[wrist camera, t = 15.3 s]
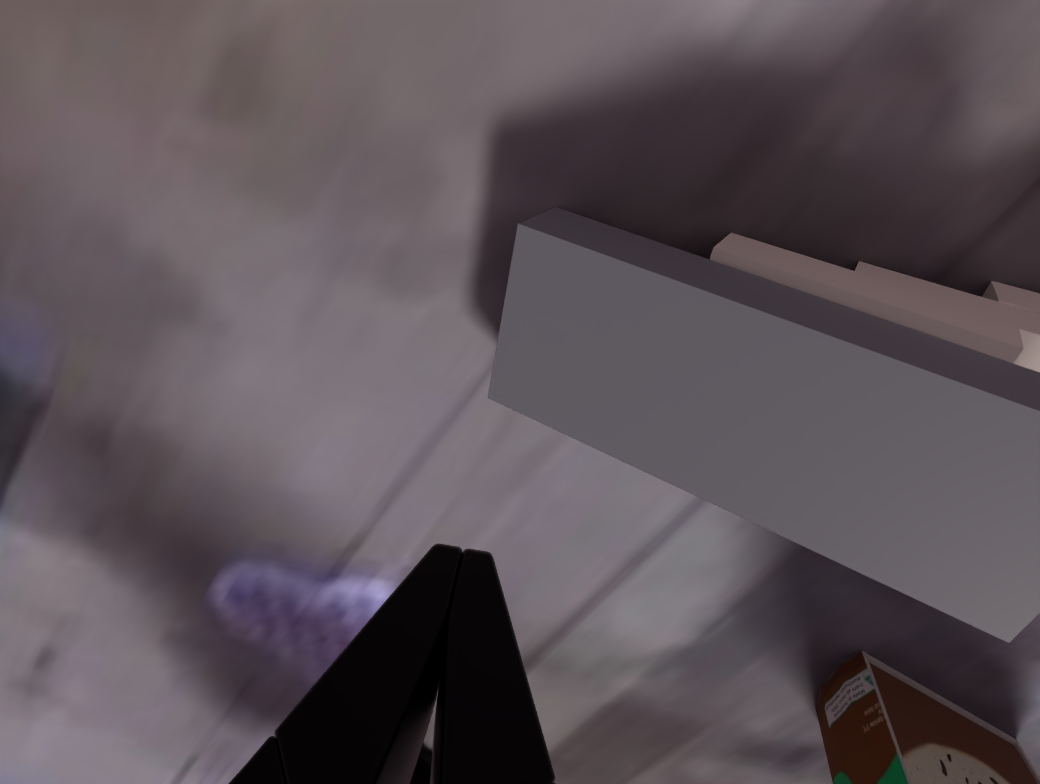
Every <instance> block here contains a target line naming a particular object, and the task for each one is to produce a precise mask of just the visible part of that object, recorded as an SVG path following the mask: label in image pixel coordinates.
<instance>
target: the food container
mask: <svg viewBox="0 0 1040 784" xmlns="http://www.w3.org/2000/svg"><path fill="white" fill-rule="evenodd" d="M816 711H817V716H818V720H819V724H820V729H821V733H822V738H823V742H824V746H825V751H826V755H827V759H828V764H829V768H830V772H831V777H832V781H833V784H1040V777H1039V776H1038V774H1037V772H1036V771H1035V769H1034V767H1033V766H1032V764H1031V763H1030V761H1029V759H1028V758H1027V756H1026V754H1025V753H1024V751H1023V750H1022V748H1021V746H1020V745H1019V743H1018V742H1017V740H1016V739H1015V738H1013V737H1011V736H1009V735H1008V734H1006V733H1004V732H1002V731H1001V730H999V729H997V728H995V727H994V726H992V725H990V724H989V723H987V722H985V721H983V720H982V719H980V718H978V717H976V716H975V715H973V714H971V713H969V712H968V711H966V710H964V709H962V708H961V707H959V706H957V705H955V704H954V703H952V702H950V701H948V700H947V699H945V698H943V697H942V696H940V695H938V694H936V693H935V692H933V691H931V690H929V689H928V688H926V687H924V686H922V685H921V684H919V683H917V682H915V681H914V680H912V679H910V678H908V677H907V676H905V675H903V674H902V673H900V672H898V671H896V670H895V669H893V668H891V667H889V666H888V665H886V664H884V663H882V662H881V661H879V660H877V659H875V658H874V657H872V656H870V655H868V654H867V653H865V652H863V651H860V652H859V653H857V654H856V655H854V656H853V657H851V658H850V659H848V660H847V661H845V662H844V663H842V664H841V665H840V666H839V667H838V668H837V669H836V670H835V671H834V673H833V674H832V675H831V676H830V677H829V678H828V680H827V681H826V682H825V683H824V684H823V685H822V687H821V690H820V694H819V697H818V701H817V705H816Z"/></svg>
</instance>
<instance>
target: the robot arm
mask: <svg viewBox="0 0 1040 784" xmlns="http://www.w3.org/2000/svg"><path fill="white" fill-rule="evenodd" d="M438 688H439V689H438ZM437 692H438V697H437ZM436 697H437V705H436V714H435V725H434V739H433V752H432V756H431V755H429V754H428V753H427V752H426V751H425V750H424V749H422V748H421V747H422V744H423V741H424V738H425V735H426V731H427V728H428V725H429V722H430V719H431V715H432V712H433V708H434V705H435V701H436ZM554 781H555V775H554V772H553V768H552V765H551V761H550V758H549V754H548V750H547V747H546V743H545V740H544V736H543V733H542V729H541V726H540V722H539V718H538V715H537V711H536V708H535V704H534V701H533V697H532V694H531V690H530V687H529V683H528V679H527V676H526V672H525V669H524V665H523V662H522V658H521V655H520V651H519V647H518V644H517V640H516V637H515V633H514V630H513V626H512V623H511V619H510V616H509V612H508V608H507V605H506V601H505V598H504V594H503V591H502V587H501V584H500V580H499V576H498V573H497V569H496V566H495V562H494V559H493V556H492V555H491V553H489V552H486V551H480V550H474V549H465V550H464V551H462V549H461V548H460V547H456V546H450V545H444V544H435V545H434V546H433V547H432V548H431V549H430V550H429V551H428V552H427V553H426V554H425V556H424V557H423V558H422V559H421V560H420V562H419V563H418V564H417V565H416V566H415V567H414V569H413V570H412V571H411V572H410V573H409V574H408V576H407V577H406V578H405V579H404V580H403V581H402V583H401V584H400V585H399V586H398V587H397V588H396V590H395V591H394V592H393V593H392V594H391V595H390V597H389V598H388V599H387V600H386V601H385V603H384V604H383V605H382V606H381V607H380V608H379V610H378V611H377V612H376V613H375V614H374V615H373V617H372V618H371V619H370V620H369V621H368V622H367V624H366V625H365V626H364V627H363V628H362V629H361V631H360V632H359V633H358V634H357V635H356V636H355V638H354V639H353V640H352V641H351V642H350V644H349V645H348V646H347V647H346V648H345V649H344V651H343V652H342V653H341V654H340V655H339V656H338V658H337V659H336V660H335V661H334V662H333V663H332V665H331V666H330V667H329V668H328V669H327V670H326V672H325V673H324V674H323V675H322V676H321V677H320V679H319V680H318V681H317V682H316V683H315V685H314V686H313V687H312V688H311V689H310V690H309V692H308V693H307V694H306V695H305V696H304V697H303V699H302V700H301V701H300V702H299V703H298V704H297V706H296V707H295V708H294V709H293V710H292V711H291V713H290V714H289V715H288V716H287V717H286V719H285V720H284V721H283V722H282V723H281V724H280V726H279V727H278V728H277V729H276V730H275V737H274V736H270V737H269V738H268V739H267V740H266V742H265V743H264V744H263V745H262V746H261V747H260V749H259V750H258V751H257V752H256V753H255V754H254V756H253V757H252V758H251V759H250V760H249V761H248V763H247V764H246V765H245V766H244V767H243V768H242V769H241V770H240V772H239V773H238V774H237V775H236V776H235V777H234V778H233V779H232V780H231V782H230V783H229V784H556V783H554Z"/></svg>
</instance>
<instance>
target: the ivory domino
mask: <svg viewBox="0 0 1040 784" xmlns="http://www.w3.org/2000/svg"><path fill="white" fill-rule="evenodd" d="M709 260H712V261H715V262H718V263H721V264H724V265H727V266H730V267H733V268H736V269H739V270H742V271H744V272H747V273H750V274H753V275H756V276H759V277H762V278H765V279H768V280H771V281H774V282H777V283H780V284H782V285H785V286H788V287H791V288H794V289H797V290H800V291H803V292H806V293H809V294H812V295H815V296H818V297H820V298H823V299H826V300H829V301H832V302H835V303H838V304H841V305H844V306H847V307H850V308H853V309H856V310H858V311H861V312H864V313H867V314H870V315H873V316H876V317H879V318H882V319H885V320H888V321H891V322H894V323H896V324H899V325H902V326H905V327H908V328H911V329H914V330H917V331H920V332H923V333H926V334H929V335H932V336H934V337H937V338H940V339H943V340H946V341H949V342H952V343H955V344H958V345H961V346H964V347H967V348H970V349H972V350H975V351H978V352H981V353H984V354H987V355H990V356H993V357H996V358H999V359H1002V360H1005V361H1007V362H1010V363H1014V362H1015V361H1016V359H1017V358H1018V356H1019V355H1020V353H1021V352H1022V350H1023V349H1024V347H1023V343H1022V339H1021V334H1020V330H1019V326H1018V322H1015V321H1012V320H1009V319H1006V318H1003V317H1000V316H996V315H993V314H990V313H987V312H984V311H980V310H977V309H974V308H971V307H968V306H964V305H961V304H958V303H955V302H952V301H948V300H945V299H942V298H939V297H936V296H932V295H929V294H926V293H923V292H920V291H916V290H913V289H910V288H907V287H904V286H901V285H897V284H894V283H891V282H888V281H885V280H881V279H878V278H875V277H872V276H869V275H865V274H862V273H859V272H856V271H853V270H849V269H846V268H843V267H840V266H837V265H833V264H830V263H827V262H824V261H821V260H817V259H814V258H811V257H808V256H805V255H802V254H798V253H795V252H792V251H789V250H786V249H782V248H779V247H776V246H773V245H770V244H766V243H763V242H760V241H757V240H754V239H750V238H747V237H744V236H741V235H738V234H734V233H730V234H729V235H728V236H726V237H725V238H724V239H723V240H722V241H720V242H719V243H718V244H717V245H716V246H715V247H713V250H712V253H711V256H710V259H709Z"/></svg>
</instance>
